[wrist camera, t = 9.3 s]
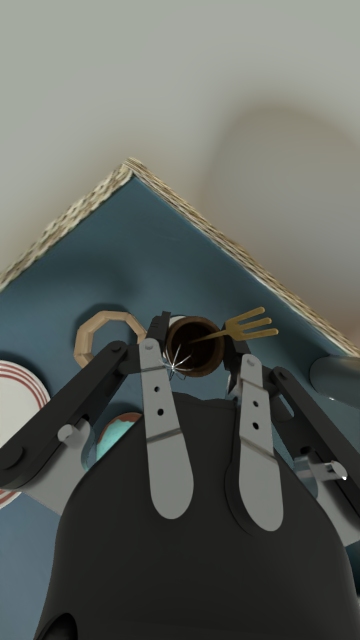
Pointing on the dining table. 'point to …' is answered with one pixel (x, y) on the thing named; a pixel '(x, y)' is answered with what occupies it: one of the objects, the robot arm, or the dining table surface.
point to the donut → (115, 431)
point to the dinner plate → (17, 405)
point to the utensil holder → (206, 342)
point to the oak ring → (95, 323)
